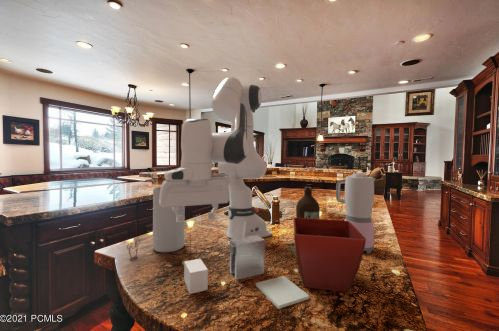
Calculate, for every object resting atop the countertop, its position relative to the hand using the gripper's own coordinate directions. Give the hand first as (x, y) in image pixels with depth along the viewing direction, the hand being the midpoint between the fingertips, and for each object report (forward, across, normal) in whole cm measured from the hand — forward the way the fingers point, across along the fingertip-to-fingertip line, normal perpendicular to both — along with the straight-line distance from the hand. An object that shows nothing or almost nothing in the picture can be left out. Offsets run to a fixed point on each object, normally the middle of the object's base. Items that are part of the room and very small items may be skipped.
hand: (195, 220), depth 69 cm
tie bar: (+12, -17, 0) cm, 21 cm away
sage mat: (+19, -21, +14) cm, 32 cm away
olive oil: (+19, -56, -16) cm, 62 cm away
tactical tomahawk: (+20, -41, -7) cm, 46 cm away
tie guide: (+19, -17, 0) cm, 26 cm away
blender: (+19, -69, -1) cm, 72 cm away
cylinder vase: (+19, +3, -34) cm, 39 cm away
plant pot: (+20, -37, +14) cm, 44 cm away
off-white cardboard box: (+20, 0, 0) cm, 20 cm away
